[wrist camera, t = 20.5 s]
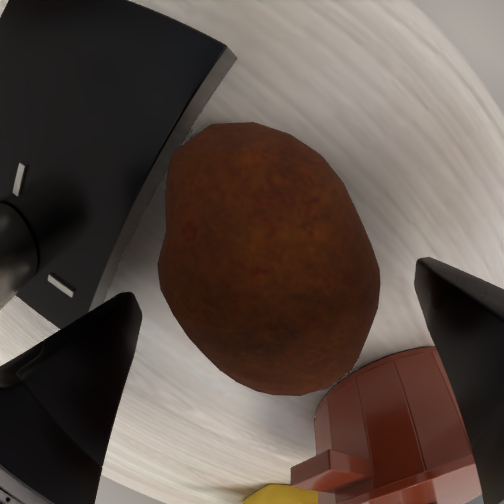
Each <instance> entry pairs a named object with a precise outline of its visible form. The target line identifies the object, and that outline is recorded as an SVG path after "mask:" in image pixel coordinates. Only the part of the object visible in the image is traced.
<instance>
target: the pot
mask: <svg viewBox="0 0 504 504" xmlns="http://www.w3.org/2000/svg"><path fill="white" fill-rule="evenodd" d="M314 421H315V439H316V456H314V457H312V458H310V459H308V460H306V461H304V462H302V463H300V464H298V465H296V466H294V467H291V486H293V487H298V488H303V489H308V490H314V491H318V504H336V503H339V502H341V501H344V500H346V499H349V498H352V497H354V496H357V495H360V494H362V493H365V492H368V491H371V490H374V489H376V488H379V487H382V486H385V485H388V484H391V483H394V482H396V481H399V480H402V479H405V478H408V477H411V476H413V475H416V474H419V473H422V472H425V471H427V470H430V469H433V468H436V467H438V466H441V465H444V464H447V463H450V462H452V461H455V460H458V459H461V458H464V457H467V456H470V455H473V454H472V450H471V449H472V448H471V446H470V442H469V439H468V435H467V432H466V429H465V425H464V422H463V419H462V416H461V413H460V410H459V407H458V404H457V401H456V398H455V395H454V393H453V390H452V387H451V384H450V382H449V379H448V376H447V374H446V371H445V369H444V366H443V364H442V361H441V359H440V356H439V354H438V351H437V349H436V347H425V348H418V349H412V350H408V351H404V352H400V353H397V354H394V355H391V356H388V357H385V358H382V359H380V360H378V361H375V362H373V363H371V364H369V365H367V366H365V367H363V368H361V369H359V370H357V371H356V372H354V373H352V374H351V375H349V376H348V377H346V378H345V379H343V380H342V381H341V382H339V383H338V384H337V385H336V386H335V387H333V388H332V389H331V390H330V391H329V392H328V393H327V394H326V395H325V397H324V398H323V399H322V401H321V402H320V404H319V406H318V408H317V410H316V414H315V418H314Z"/></svg>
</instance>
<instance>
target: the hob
mask: <svg viewBox="0 0 504 504" xmlns="http://www.w3.org/2000/svg"><path fill="white" fill-rule="evenodd" d="M236 60H237V57H236V56H235V54H234V53H233V52H232V51H231V50H230V49H229V48H228V47H227V46H226V45H225V44H223V43H221V42H219V41H218V40H216V39H214V38H212V37H210V36H208V35H206V34H204V33H202V32H200V31H198V30H196V29H194V28H192V27H190V26H188V25H186V24H183V23H181V22H179V21H177V20H175V19H172V18H170V17H168V16H166V15H163V14H161V13H159V12H156V11H154V10H151V9H149V8H146V7H144V6H141V5H139V4H136V3H134V2H131V1H128V0H9V1H8V3H7V5H6V7H5V9H4V11H3V13H2V15H1V17H0V203H4V204H7V205H9V206H10V207H12V208H13V209H14V210H15V211H17V212H18V214H19V215H20V216H21V217H22V218H23V220H24V221H25V223H26V224H27V226H28V228H29V230H30V232H31V234H32V237H33V239H34V242H35V246H36V250H37V258H38V263H37V269H36V273H35V275H34V277H33V278H32V279H31V280H30V281H29V282H28V283H27V284H26V285H25V286H24V287H23V288H22V289H21V290H20V291H19V292H18V293H17V294H16V296H17V297H19V298H20V299H21V300H22V301H24V302H25V303H26V304H27V305H29V306H30V307H31V308H32V309H34V310H35V311H36V312H38V313H39V314H40V315H42V316H43V317H44V318H46V319H47V320H48V321H50V322H51V323H52V324H54V325H55V326H57V327H58V328H59V329H62V328H64V327H66V326H67V325H69V324H70V323H72V322H74V321H75V320H77V319H78V318H80V317H82V316H83V315H85V314H87V313H88V312H90V311H91V310H93V309H95V308H96V307H98V306H100V305H101V304H102V303H103V301H104V298H105V296H106V293H107V291H108V289H109V286H110V284H111V281H112V279H113V277H114V275H115V272H116V270H117V268H118V265H119V263H120V261H121V259H122V257H123V254H124V252H125V250H126V248H127V246H128V244H129V242H130V239H131V237H132V235H133V233H134V231H135V229H136V227H137V225H138V223H139V221H140V219H141V217H142V215H143V213H144V211H145V209H146V207H147V205H148V203H149V201H150V199H151V197H152V196H153V194H154V192H155V190H156V188H157V186H158V184H159V183H160V181H161V179H162V177H163V175H164V173H165V172H166V170H167V168H168V166H169V163H170V157H171V156H172V155H173V153H174V152H175V151H176V150H177V149H178V148H179V147H180V145H181V144H182V142H183V140H184V139H185V137H186V135H187V134H188V132H189V130H190V129H191V127H192V126H193V124H194V122H195V121H196V119H197V118H198V116H199V114H200V113H201V111H202V110H203V108H204V107H205V105H206V103H207V102H208V100H209V99H210V97H211V96H212V94H213V93H214V91H215V90H216V88H217V87H218V85H219V84H220V82H221V81H222V80H223V78H224V77H225V75H226V74H227V72H228V71H229V70H230V68H231V67H232V65H233V64H234V62H235V61H236Z"/></svg>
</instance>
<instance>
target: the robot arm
mask: <svg viewBox="0 0 504 504" xmlns="http://www.w3.org/2000/svg"><path fill="white" fill-rule="evenodd" d="M414 286H415V291H416V294H417V297H418V300H419V302H420V306H421V309H422V312H423V315H424V318H425V321H426V324H427V327H428V330H429V332H430V335H431V337H432V339H433V342H434V344H435V346H436V349H437V351H438V354H439V356H440V359H441V361H442V364H443V366H444V369H445V371H446V374H447V376H448V379H449V382H450V384H451V387H452V390H453V393H454V395H455V398H456V401H457V404H458V407H459V410H460V413H461V416H462V419H463V422H464V425H465V429H466V432H467V435H468V439H469V442H470V446H471V448H472V449H471V450H472V454H473V457H474V461H475V465H476V469H477V473H478V477H479V482H480V486H481V491H482V495H483V501H484V504H504V289H502V288H500V287H497V286H495V285H493V284H491V283H489V282H486V281H484V280H482V279H480V278H477V277H475V276H473V275H471V274H468V273H466V272H464V271H461V270H459V269H457V268H455V267H452V266H450V265H447V264H445V263H443V262H440V261H438V260H436V259H433V258H431V257H425V258H420V259H418V260H417V262H416V270H415V280H414ZM141 322H142V312H141V309H140V307H139V305H138V302H137V300H136V298H135V295H134V294H133V293H132V292H122V293H119V294H118V295H116V296H114V297H113V298H111V299H110V300H108V301H106V302H105V303H103V304H101V305H100V306H98V307H96V308H95V309H93V310H91V311H90V312H88V313H87V314H85V315H83V316H82V317H80V318H78V319H77V320H75V321H74V322H72V323H70V324H69V325H67V326H66V327H64V328H62V329H61V330H59V331H58V332H56V333H54V334H53V335H51V336H50V337H48V338H46V339H45V340H44V341H42V342H40V343H39V344H37V345H35V346H34V347H32V348H31V349H29V350H27V351H26V352H24V353H22V354H21V355H19V356H17V357H16V358H14V359H12V360H11V361H9V362H7V363H5V364H4V365H2V366H0V504H95V499H96V494H97V490H98V485H99V481H100V476H101V472H102V466H103V463H104V459H105V455H106V451H107V447H108V443H109V439H110V435H111V432H112V428H113V424H114V421H115V417H116V414H117V410H118V407H119V403H120V400H121V396H122V393H123V390H124V386H125V383H126V380H127V377H128V373H129V370H130V367H131V364H132V361H133V357H134V353H135V349H136V344H137V340H138V335H139V331H140V326H141Z"/></svg>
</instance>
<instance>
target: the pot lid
mask: <svg viewBox="0 0 504 504" xmlns="http://www.w3.org/2000/svg"><path fill="white" fill-rule="evenodd" d="M481 494H482V491H481V486H480V482H479V477H478V473H477V469H476V465H475V461H474V457H473V455H470V456H467V457H464V458H461V459H458V460H455V461H452V462H450V463H447V464H444V465H441V466H438V467H436V468H433V469H430V470H427V471H425V472H422V473H419V474H416V475H413V476H411V477H408V478H405V479H402V480H399V481H396V482H394V483H391V484H388V485H385V486H382V487H379V488H376V489H374V490H371V491H368V492H365V493H362V494H360V495H357V496H354V497H352V498H349V499H346V500H344V501H341V502H339V503H336V504H465V503H467V502H468V501H470V500H472V499H474V498H476V497H477V496H479V495H481Z"/></svg>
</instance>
